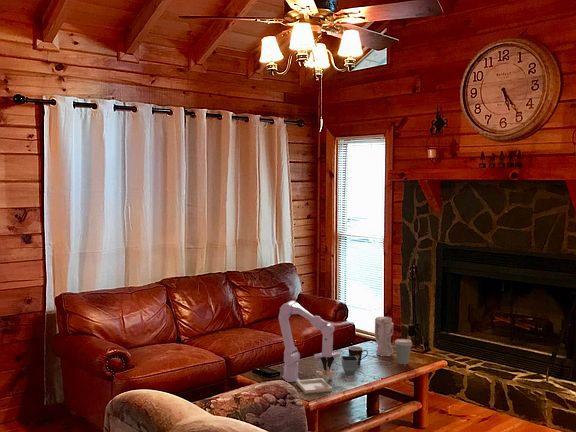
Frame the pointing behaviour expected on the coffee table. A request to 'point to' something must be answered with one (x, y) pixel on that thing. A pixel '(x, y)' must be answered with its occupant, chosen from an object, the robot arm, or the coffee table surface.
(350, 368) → the flower pot
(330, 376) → the peg
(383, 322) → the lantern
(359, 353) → the coffee mug
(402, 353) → the disposable coffee cup
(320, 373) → the collar
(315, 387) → the tray
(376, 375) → the coffee table surface
